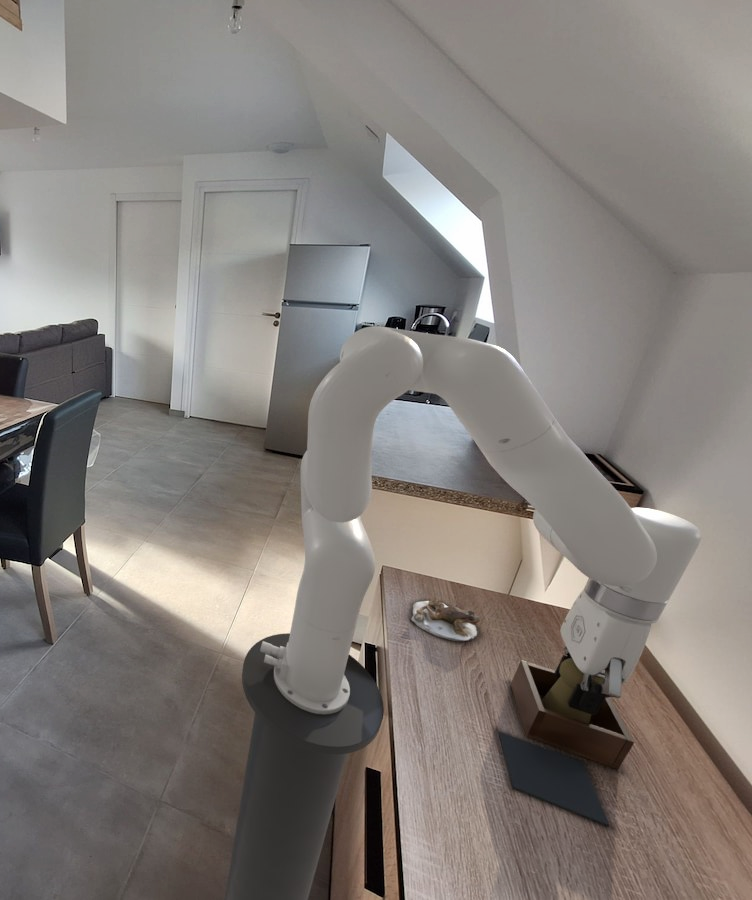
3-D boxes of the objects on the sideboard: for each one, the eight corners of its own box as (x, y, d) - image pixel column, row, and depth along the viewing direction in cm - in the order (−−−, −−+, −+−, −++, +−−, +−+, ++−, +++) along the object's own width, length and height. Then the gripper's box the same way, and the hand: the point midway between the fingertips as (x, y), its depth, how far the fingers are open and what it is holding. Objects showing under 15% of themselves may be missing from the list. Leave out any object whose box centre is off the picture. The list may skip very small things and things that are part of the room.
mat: (512, 788, 61) (513, 786, 61) (498, 732, 69) (499, 731, 68) (608, 826, 57) (609, 825, 57) (582, 763, 65) (583, 761, 64)
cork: (594, 745, 67) (625, 690, 63) (545, 731, 69) (572, 676, 65) (575, 711, 72) (602, 658, 68) (529, 698, 74) (553, 646, 70)
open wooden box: (526, 736, 68) (538, 710, 66) (510, 684, 77) (520, 659, 75) (618, 769, 64) (634, 742, 62) (590, 710, 73) (603, 685, 71)
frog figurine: (476, 615, 93) (482, 600, 92) (478, 652, 84) (484, 636, 82) (414, 594, 99) (418, 579, 97) (409, 626, 89) (414, 610, 88)
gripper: (567, 556, 70) (528, 647, 77) (613, 626, 56) (561, 730, 63) (630, 570, 67) (584, 663, 74) (697, 648, 53) (632, 755, 59)
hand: (574, 693), depth 68 cm, fingers closed on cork, 5 cm apart
